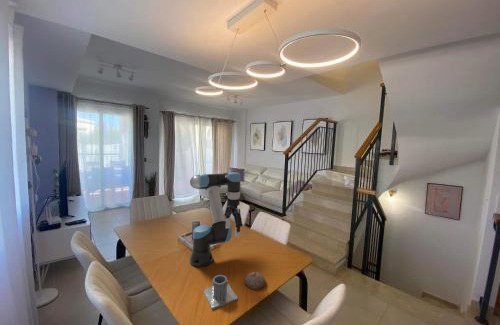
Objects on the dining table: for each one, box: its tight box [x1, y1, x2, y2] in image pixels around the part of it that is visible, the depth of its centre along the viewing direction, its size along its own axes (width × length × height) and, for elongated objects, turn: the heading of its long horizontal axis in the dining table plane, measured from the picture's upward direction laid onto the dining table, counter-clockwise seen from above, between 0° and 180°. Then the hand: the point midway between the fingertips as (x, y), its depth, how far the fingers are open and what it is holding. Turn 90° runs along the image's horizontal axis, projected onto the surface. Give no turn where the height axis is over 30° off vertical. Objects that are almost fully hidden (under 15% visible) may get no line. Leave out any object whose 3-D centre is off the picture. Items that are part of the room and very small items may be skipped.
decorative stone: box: [244, 271, 266, 291], centre depth 120 cm, size 12×12×6 cm
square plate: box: [202, 283, 239, 310], centre depth 109 cm, size 14×14×6 cm
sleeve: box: [211, 274, 229, 299], centre depth 109 cm, size 8×8×8 cm
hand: (232, 232), depth 125 cm, fingers open, 13 cm apart
